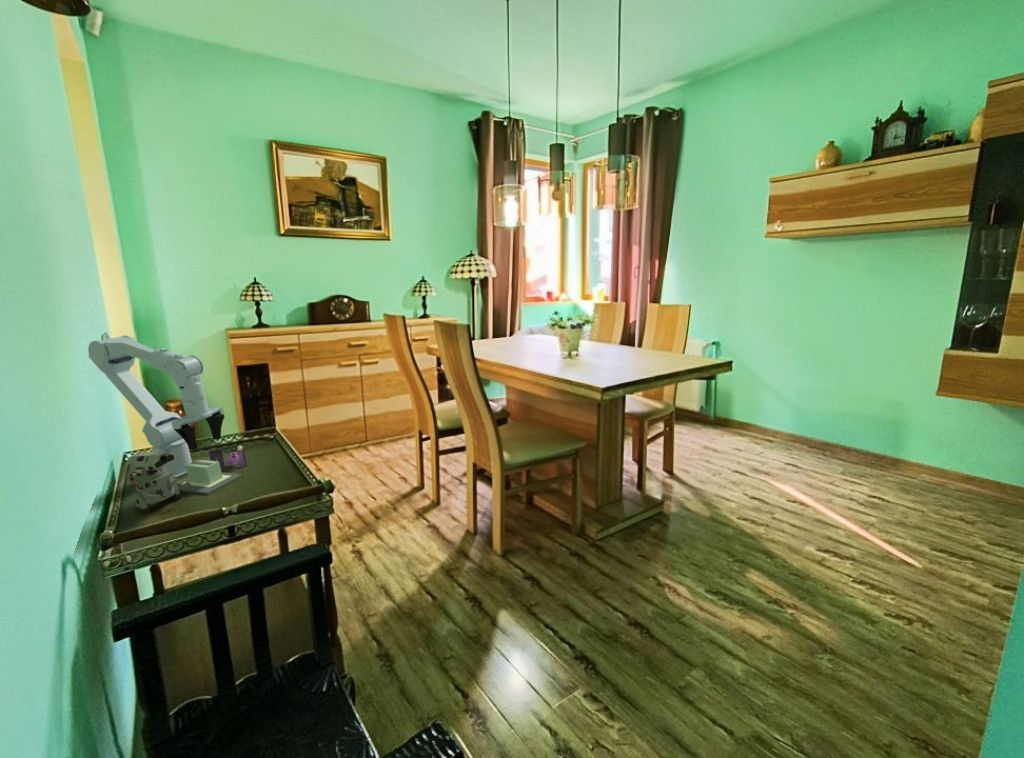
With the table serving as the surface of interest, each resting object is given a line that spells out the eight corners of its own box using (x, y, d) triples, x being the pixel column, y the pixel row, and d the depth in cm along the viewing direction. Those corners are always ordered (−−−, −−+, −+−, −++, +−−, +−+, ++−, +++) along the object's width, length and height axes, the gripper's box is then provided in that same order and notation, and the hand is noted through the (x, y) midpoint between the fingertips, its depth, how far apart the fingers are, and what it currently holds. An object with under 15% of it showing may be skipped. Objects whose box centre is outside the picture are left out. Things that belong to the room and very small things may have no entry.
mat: (165, 489, 132) (165, 487, 132) (201, 472, 142) (201, 469, 142) (208, 494, 127) (207, 492, 127) (242, 476, 137) (242, 474, 137)
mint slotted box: (210, 484, 132) (206, 467, 130) (189, 481, 134) (184, 465, 133) (222, 477, 135) (218, 461, 134) (202, 475, 138) (198, 459, 137)
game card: (208, 451, 140) (242, 444, 144) (211, 451, 145) (244, 444, 149) (212, 473, 140) (246, 466, 144) (215, 472, 145) (248, 465, 148)
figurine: (156, 519, 116) (140, 462, 112) (133, 510, 121) (116, 456, 117) (195, 501, 124) (181, 448, 120) (171, 494, 129) (157, 442, 125)
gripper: (179, 407, 127) (192, 454, 130) (226, 392, 140) (237, 435, 144) (161, 407, 129) (174, 453, 133) (209, 391, 143) (219, 434, 146)
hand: (205, 443), depth 138 cm, fingers open, 7 cm apart
